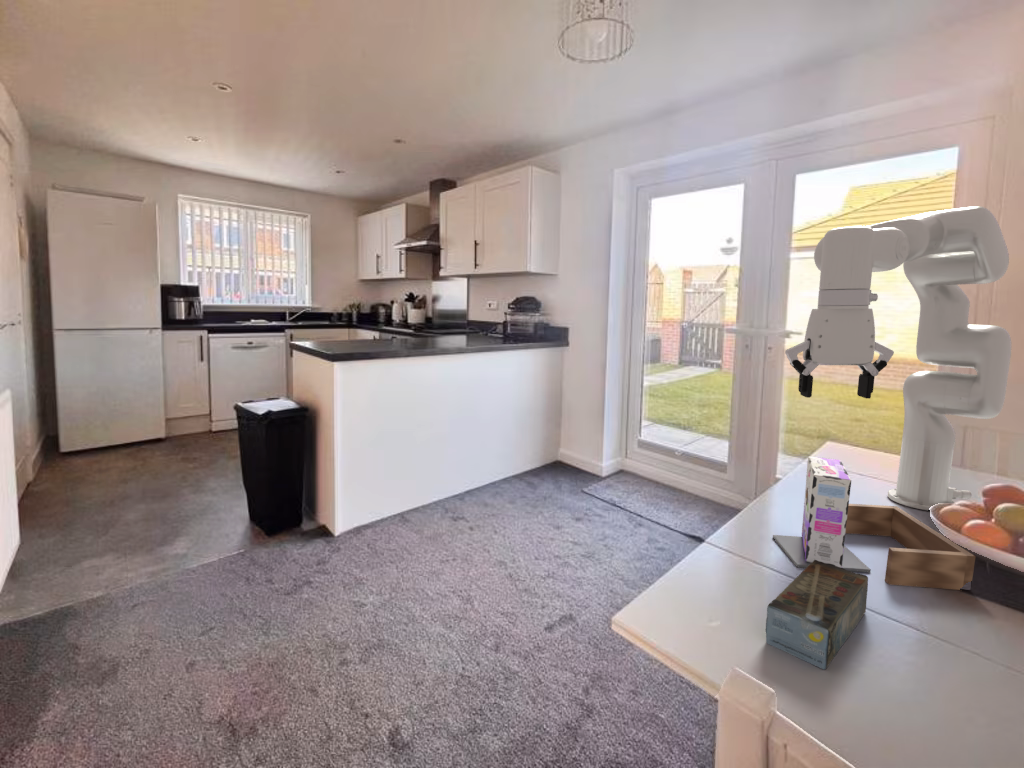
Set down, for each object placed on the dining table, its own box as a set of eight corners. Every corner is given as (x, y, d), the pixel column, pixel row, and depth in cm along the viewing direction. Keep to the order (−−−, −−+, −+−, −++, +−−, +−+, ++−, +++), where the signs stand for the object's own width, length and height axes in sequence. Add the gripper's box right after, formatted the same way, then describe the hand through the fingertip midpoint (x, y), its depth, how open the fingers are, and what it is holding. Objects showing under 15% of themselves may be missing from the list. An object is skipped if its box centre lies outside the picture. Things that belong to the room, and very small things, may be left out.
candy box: (843, 570, 88) (852, 479, 85) (804, 562, 90) (812, 474, 88) (834, 538, 100) (842, 458, 97) (800, 532, 102) (807, 454, 100)
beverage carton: (760, 643, 70) (764, 599, 69) (809, 592, 82) (813, 554, 81) (825, 673, 64) (830, 626, 63) (867, 614, 76) (872, 573, 76)
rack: (893, 534, 103) (896, 506, 103) (970, 590, 82) (975, 556, 82) (829, 530, 105) (831, 502, 104) (888, 584, 84) (892, 550, 83)
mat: (837, 541, 100) (837, 539, 100) (870, 572, 88) (870, 569, 88) (772, 537, 102) (773, 534, 101) (796, 567, 90) (797, 564, 90)
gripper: (885, 300, 90) (875, 393, 93) (782, 301, 93) (775, 392, 96) (911, 299, 83) (899, 401, 86) (798, 301, 86) (791, 399, 88)
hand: (834, 396), depth 91 cm, fingers open, 9 cm apart
